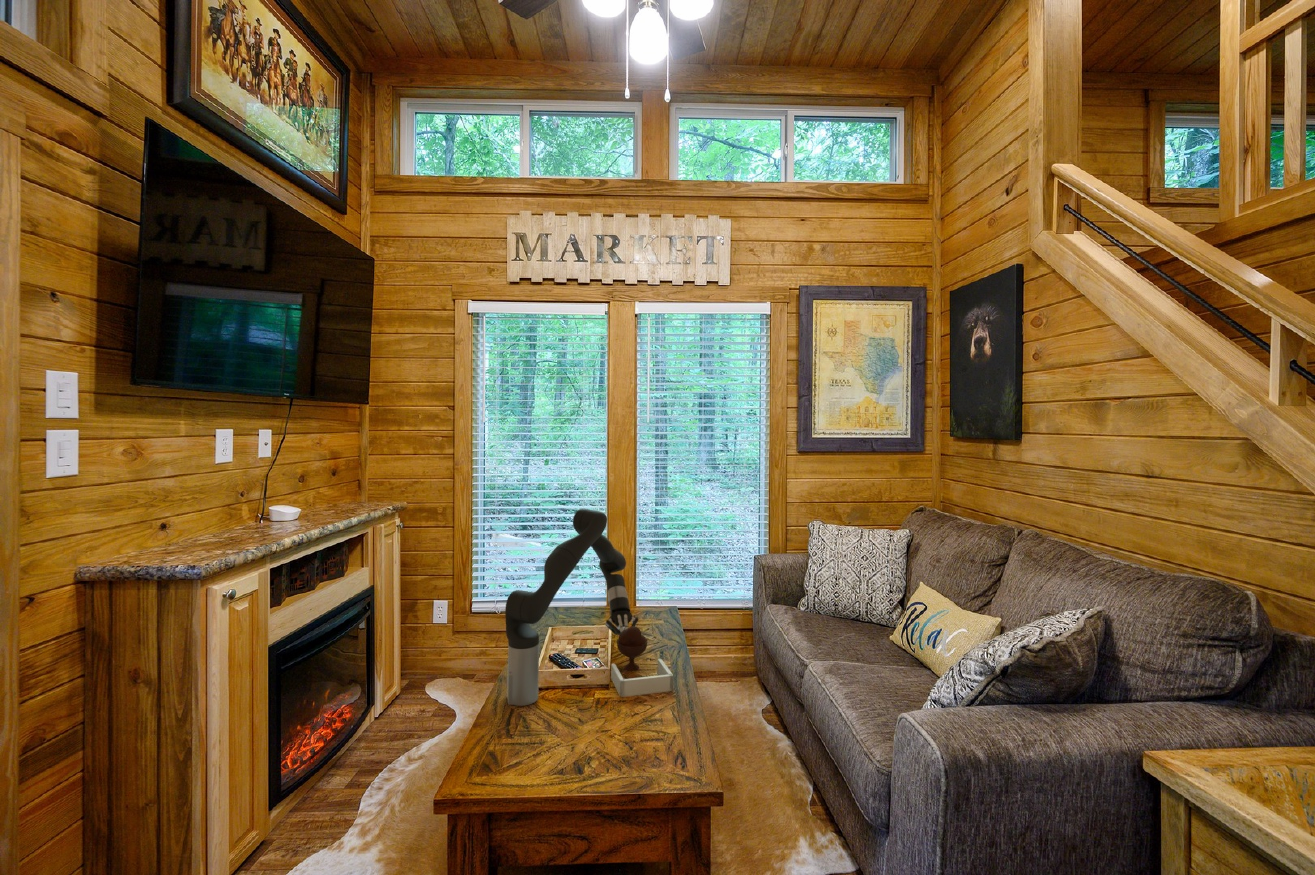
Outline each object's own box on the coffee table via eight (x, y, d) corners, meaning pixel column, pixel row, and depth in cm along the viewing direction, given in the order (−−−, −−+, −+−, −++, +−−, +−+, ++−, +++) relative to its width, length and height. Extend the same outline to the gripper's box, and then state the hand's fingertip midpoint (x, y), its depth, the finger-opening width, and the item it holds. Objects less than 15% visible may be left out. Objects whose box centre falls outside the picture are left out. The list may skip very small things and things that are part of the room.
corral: (620, 697, 183) (620, 681, 183) (611, 678, 196) (611, 664, 196) (673, 691, 188) (673, 675, 188) (660, 673, 201) (661, 658, 201)
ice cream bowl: (652, 666, 207) (653, 624, 206) (634, 677, 197) (635, 633, 197) (628, 659, 212) (629, 618, 212) (609, 670, 203) (610, 627, 203)
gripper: (603, 597, 220) (609, 641, 209) (637, 595, 224) (645, 638, 213) (600, 607, 225) (606, 650, 214) (633, 604, 229) (641, 647, 218)
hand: (625, 644), depth 213 cm, fingers closed
